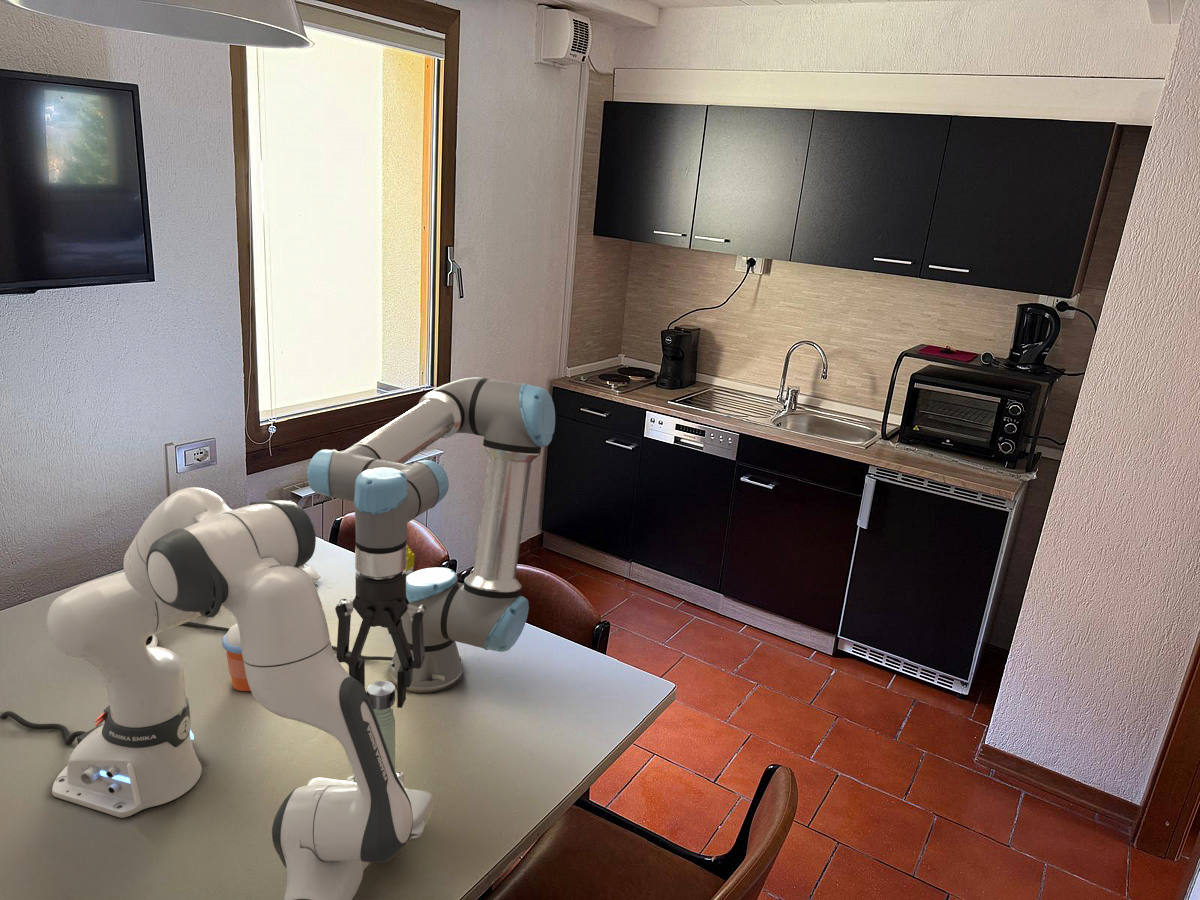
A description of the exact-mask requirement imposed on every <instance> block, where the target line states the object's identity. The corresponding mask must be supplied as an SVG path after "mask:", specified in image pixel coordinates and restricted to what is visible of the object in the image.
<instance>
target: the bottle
mask: <svg viewBox="0 0 1200 900" xmlns="http://www.w3.org/2000/svg"><path fill="white" fill-rule="evenodd" d="M373 710H374V712H375V715H376V718H377V721H378V723H379V726H380V729H381V732H382V735H383V738H384V741H385V743H386V746H387V749H388V752H389V755H390V758H391V761H392V763H393V766H394V769H395V770H396V715H395V712H394V708H393V706H391V707H390V708H387V709H383V710H375V709H373Z"/></svg>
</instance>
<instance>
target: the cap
mask: <svg viewBox="0 0 1200 900" xmlns="http://www.w3.org/2000/svg"><path fill="white" fill-rule="evenodd" d="M366 693H367V695H368V697H369V699H370V702H371V704H372V707H373V709H375V710H383V709H387V708H390V707H391V706H392V707H393V706H394V705H395V703H396V685H395V684H394V683H393V682H392V681H389V680H376V681H373V682H370V683H369V684H368V685H367V687H366Z"/></svg>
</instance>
